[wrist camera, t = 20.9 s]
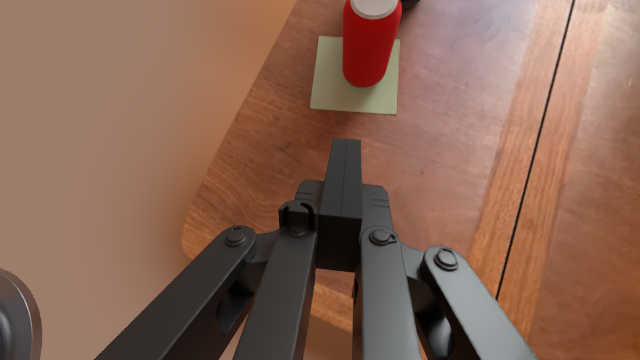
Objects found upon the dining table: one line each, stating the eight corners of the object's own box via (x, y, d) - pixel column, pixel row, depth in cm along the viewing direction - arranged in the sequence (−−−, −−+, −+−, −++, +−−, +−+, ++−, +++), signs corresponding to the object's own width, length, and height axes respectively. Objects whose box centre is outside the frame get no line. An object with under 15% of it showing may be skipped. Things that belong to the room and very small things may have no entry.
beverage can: (334, 79, 38) (332, 8, 27) (355, 47, 39) (363, -36, 28) (371, 98, 37) (386, 32, 26) (393, 64, 38) (416, -14, 27)
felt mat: (309, 108, 38) (309, 108, 38) (319, 36, 40) (319, 36, 40) (396, 114, 37) (396, 114, 36) (399, 40, 39) (400, 39, 39)
